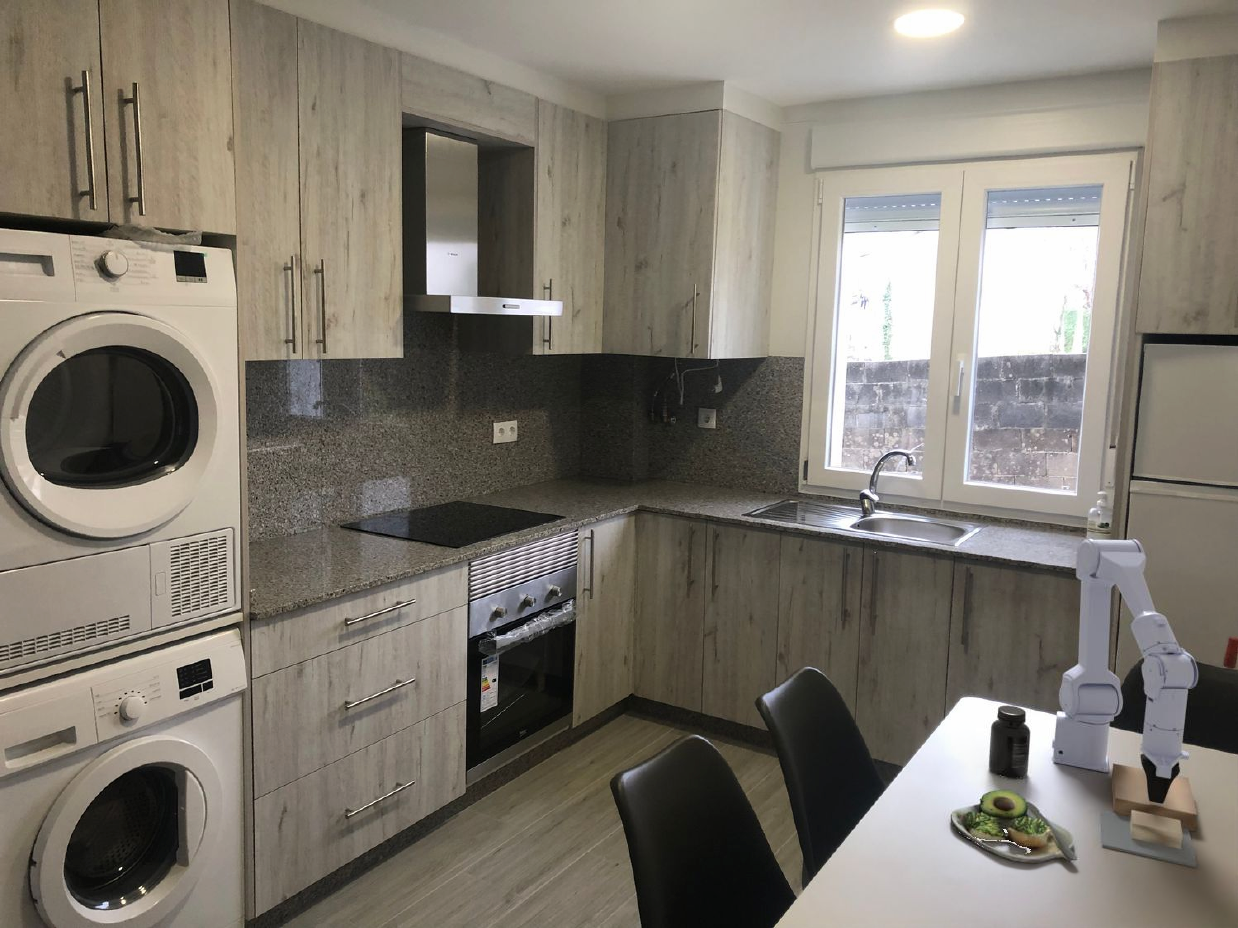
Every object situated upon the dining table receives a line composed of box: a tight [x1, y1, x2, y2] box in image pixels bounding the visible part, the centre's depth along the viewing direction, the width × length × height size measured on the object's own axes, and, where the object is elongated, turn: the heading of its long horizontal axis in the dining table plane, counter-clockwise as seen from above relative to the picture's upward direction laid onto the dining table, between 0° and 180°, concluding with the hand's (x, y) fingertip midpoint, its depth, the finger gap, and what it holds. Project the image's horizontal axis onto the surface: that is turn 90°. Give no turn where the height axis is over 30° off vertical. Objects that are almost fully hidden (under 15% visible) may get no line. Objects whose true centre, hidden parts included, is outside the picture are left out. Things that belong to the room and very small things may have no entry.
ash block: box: [1130, 810, 1182, 849], centre depth 155 cm, size 7×5×2 cm
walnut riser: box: [1111, 763, 1198, 832], centre depth 167 cm, size 12×15×3 cm
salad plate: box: [950, 789, 1078, 864], centre depth 155 cm, size 19×18×5 cm
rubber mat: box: [1100, 810, 1197, 868], centre depth 155 cm, size 13×12×1 cm
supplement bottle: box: [988, 705, 1031, 780], centre depth 178 cm, size 7×7×12 cm
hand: (1155, 800), depth 161 cm, fingers closed
